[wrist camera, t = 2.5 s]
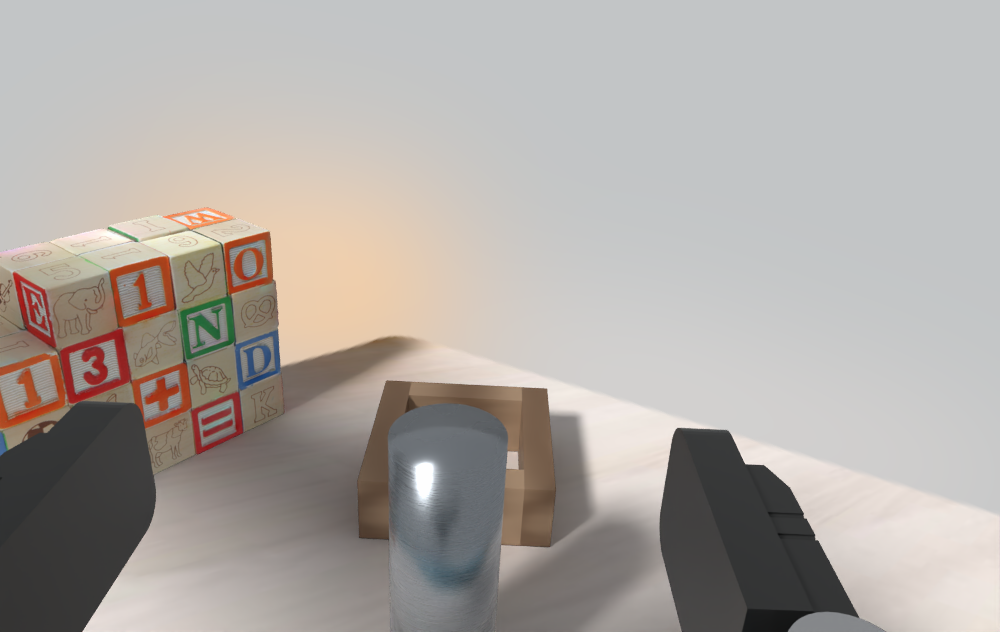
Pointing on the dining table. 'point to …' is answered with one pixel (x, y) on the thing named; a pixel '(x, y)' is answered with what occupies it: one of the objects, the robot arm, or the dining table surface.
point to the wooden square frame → (527, 434)
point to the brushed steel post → (445, 518)
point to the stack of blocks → (144, 330)
